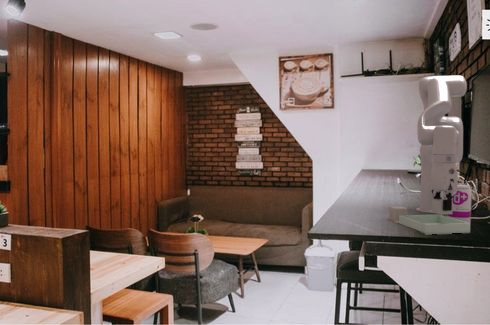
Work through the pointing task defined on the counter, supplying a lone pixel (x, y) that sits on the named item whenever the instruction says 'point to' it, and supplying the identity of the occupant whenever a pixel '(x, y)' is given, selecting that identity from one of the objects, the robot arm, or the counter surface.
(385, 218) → the birch board
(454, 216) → the supplement can
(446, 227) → the tub
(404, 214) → the stone
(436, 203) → the stone
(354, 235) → the counter surface
